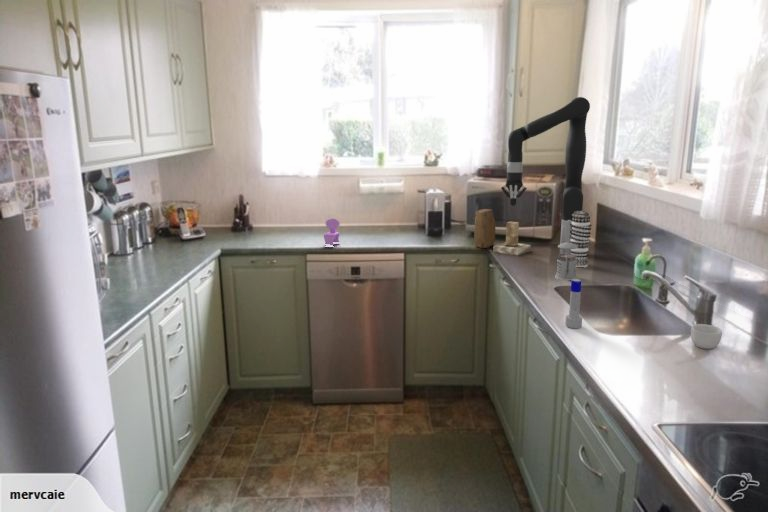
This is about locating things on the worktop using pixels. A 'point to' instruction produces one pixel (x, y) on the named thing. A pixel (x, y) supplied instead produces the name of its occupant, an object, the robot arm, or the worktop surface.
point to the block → (484, 228)
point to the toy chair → (332, 232)
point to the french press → (567, 261)
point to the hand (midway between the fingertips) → (513, 205)
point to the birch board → (511, 249)
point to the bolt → (574, 305)
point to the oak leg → (512, 234)
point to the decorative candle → (580, 237)
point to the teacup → (706, 336)
